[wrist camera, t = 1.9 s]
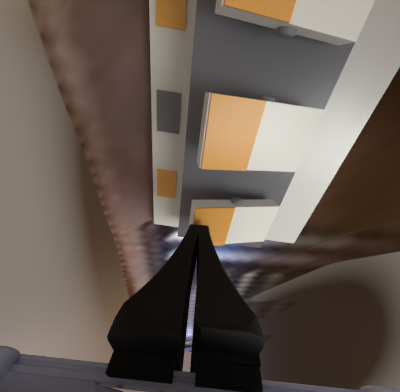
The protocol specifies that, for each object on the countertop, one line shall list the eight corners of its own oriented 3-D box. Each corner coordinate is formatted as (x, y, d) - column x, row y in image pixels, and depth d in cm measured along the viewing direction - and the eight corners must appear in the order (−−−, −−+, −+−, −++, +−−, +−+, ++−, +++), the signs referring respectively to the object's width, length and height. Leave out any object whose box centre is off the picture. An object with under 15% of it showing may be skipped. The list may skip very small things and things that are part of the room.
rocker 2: (273, 196, 14) (281, 205, 13) (257, 234, 17) (263, 243, 16) (191, 196, 13) (194, 206, 12) (186, 238, 15) (188, 249, 14)
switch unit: (492, -115, 9) (663, -241, 6) (290, 237, 23) (304, 263, 19) (151, -172, 9) (112, -339, 5) (156, 218, 22) (146, 241, 19)
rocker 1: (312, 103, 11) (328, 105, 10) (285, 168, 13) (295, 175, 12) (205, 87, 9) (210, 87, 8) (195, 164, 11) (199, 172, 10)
